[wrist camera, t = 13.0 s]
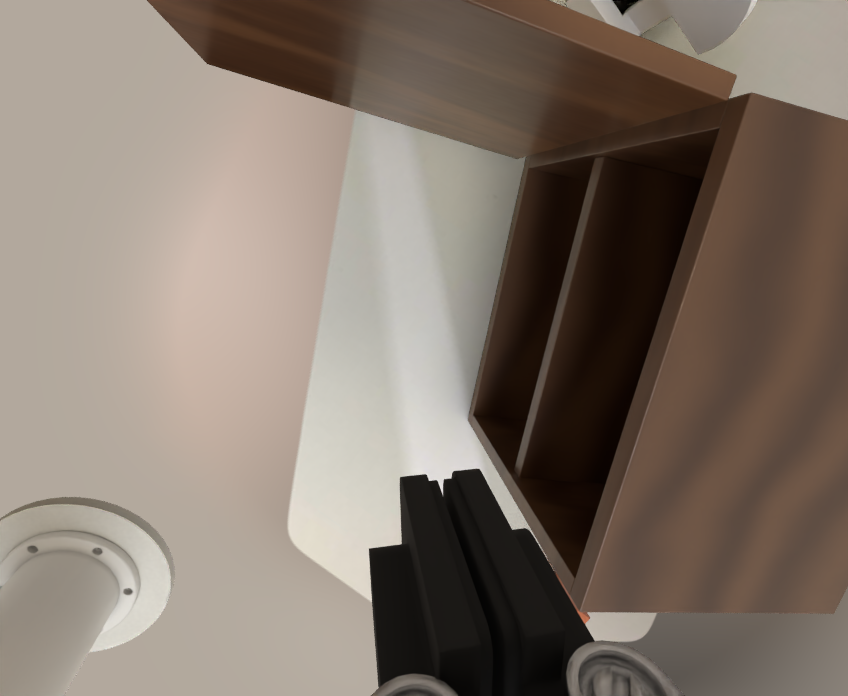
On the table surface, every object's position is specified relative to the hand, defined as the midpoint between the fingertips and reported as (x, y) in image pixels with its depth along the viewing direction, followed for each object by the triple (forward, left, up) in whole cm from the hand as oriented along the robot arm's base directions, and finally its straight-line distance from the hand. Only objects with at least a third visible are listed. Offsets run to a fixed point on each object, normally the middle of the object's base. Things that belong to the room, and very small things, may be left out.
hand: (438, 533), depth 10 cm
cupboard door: (+14, +10, -35) cm, 39 cm away
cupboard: (+11, -19, -35) cm, 41 cm away
